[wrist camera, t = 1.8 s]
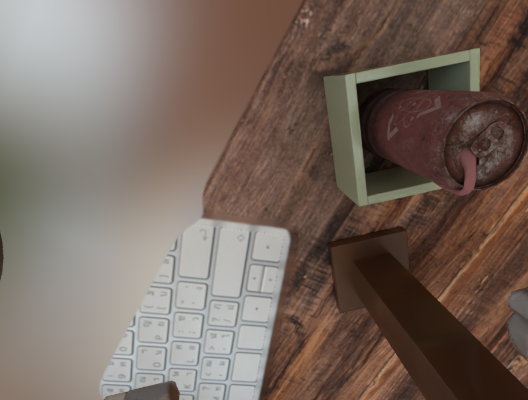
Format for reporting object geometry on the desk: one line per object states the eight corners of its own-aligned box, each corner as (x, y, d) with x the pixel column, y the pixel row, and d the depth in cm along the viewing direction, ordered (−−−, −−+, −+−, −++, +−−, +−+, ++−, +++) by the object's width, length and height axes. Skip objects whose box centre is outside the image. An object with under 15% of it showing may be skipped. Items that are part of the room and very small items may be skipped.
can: (348, 155, 35) (428, 198, 22) (358, 86, 33) (451, 88, 20) (407, 158, 36) (518, 201, 23) (420, 90, 34) (550, 95, 21)
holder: (336, 187, 36) (359, 207, 30) (322, 76, 32) (344, 75, 27) (438, 165, 36) (479, 180, 31) (435, 53, 33) (480, 47, 27)
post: (336, 307, 40) (542, 697, 15) (327, 242, 38) (558, 580, 12) (405, 290, 41) (722, 642, 15) (401, 226, 38) (774, 517, 12)
